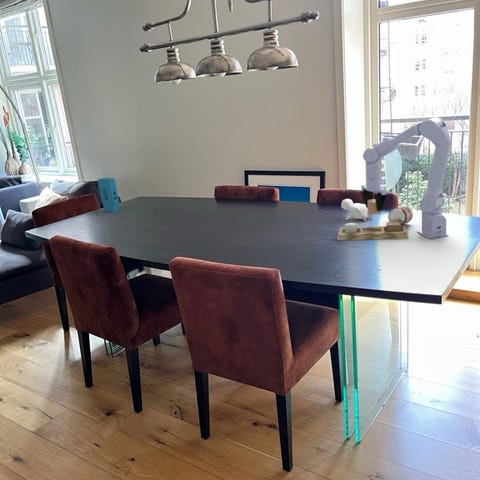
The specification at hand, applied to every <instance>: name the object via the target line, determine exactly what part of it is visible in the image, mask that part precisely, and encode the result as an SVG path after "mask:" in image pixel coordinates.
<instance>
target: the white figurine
mask: <svg viewBox="0 0 480 480" xmlns="http://www.w3.org/2000/svg"><path fill="white" fill-rule="evenodd" d="M341 208H342V210H345V211H349V213H348V214H347V216H345V221H348V220H350V219H351V218H354V219H357V220H363V222H366V220H367V219H368V218H370V219H373V215H374V214H368V208H366V205H365V203H357V202H356V203H354V202H353V200H352V199H350V198H345V199H343V200H342V201H341Z"/></svg>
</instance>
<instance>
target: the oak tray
mask: <svg viewBox="0 0 480 480" xmlns="http://www.w3.org/2000/svg"><path fill="white" fill-rule="evenodd" d="M392 239H393V240H395V239H397V240H399V239H409V233H408V230H407V228H406V226H405V225H400V232H387V229H386V225H385V226H384V225H382V226H381V225H380V226H377V225H376V226H357V233H345V227H339V230H338V233H337V241H356V240H357V241H359V240H361V241H362V240H392Z"/></svg>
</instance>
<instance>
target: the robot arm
mask: <svg viewBox="0 0 480 480" xmlns="http://www.w3.org/2000/svg"><path fill="white" fill-rule="evenodd" d="M415 136H416V137H420V136H422V137H424V138H426V139H427V140H429V141H430V142H431V143H432V144H433V145H434V147H435V148H434V152H433V158H432V162H431V167H430V173H429V176H428V177H429V178H428V183H427V187H426V189H425V190H424V191H425V192H424V194H423V198H422V199H421V200H420V202H419V208H420V210H421V229H420V230H417V233H419V234H420V235H422V236H424V237H425V238H427V239H434V238H441V237H447V236H449V234H448V233H447V219H446V217H445V215H443V210H442V206H443V204H444V202H445V199H444V189H443V186H444V185H443V184H444V180H445V174H446V170H447V165H448V160H449V155H450V152H451V151H450V150H451V146H452V138H451V136H450V133H449V129H448V125H447V123H446V122H445V121H444V120H443V119H442V118H440V117H437V116H434V117H431V118H430V119H425V120H423V121H421V122H417V123H415V124H413V125H411V126H410V127H408V128H407V129H405V130H404V131H402V132H400V133H399V134H397V135H396V136H394V137H391V136H385V137H383V138H382V140H381V141H380V142H378V143H374V144H373V145H372V147H368V148H367V149H365V150H364V152H363V153H362V158H363V160H364V162H365V177H366V178H365V184H363V185H361V191H360V195H361V197H362V199H363V201H364V204H365V205H366V208H368V200H372V199H373V198H374V199H375V201H376V208H377V211H383V210H384V204H385V202H386V199H387V198H388V195H389V194H388V193H387V192H388V190H387V189H385V188H384V186H383V185H381V182H382V181H381V177H382V175H381V174H382V173H381V159H382V158H384V157H385V156H387V155H389V154H390V153H393V152H395V151H396V150H398V149H397V148H398V146H399V145H400V144H403V142H405V141H408V140H410V139H411V138H413V137H415ZM374 193H375V194H374Z"/></svg>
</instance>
